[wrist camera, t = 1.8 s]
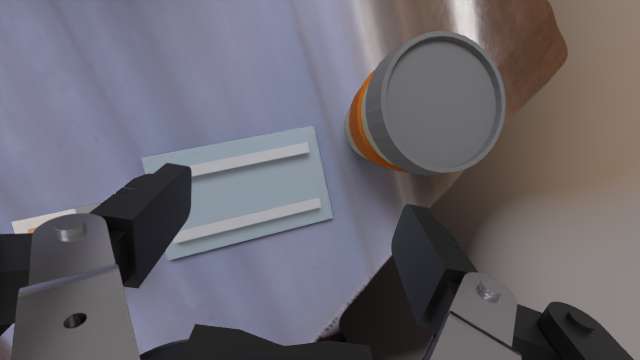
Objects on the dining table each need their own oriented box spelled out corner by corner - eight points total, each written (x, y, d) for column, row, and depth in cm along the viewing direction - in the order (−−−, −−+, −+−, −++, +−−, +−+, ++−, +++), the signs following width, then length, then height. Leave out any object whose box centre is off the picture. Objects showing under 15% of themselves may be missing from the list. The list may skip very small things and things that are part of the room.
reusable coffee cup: (435, 135, 42) (531, 116, 27) (370, 193, 40) (436, 206, 25) (382, 61, 40) (456, -2, 25) (311, 119, 38) (347, 86, 23)
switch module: (93, 241, 33) (18, 274, 23) (83, 206, 33) (2, 223, 22) (135, 231, 34) (82, 258, 24) (126, 197, 34) (68, 209, 23)
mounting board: (170, 258, 35) (163, 264, 33) (144, 158, 34) (135, 157, 32) (331, 216, 39) (336, 219, 37) (312, 126, 38) (315, 123, 36)
